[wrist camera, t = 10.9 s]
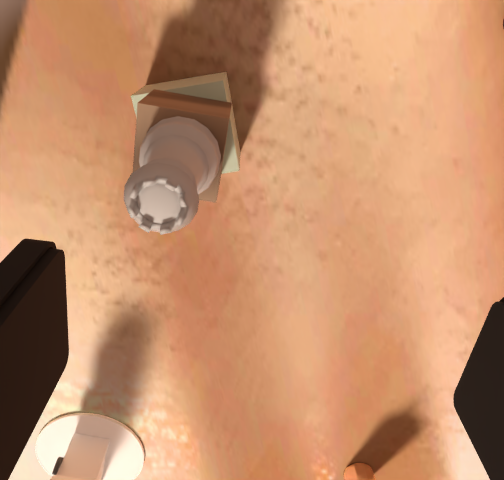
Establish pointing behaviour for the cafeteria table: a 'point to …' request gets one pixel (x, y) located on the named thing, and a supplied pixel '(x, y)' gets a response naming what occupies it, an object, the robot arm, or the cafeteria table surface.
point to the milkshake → (359, 472)
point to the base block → (210, 89)
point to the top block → (186, 106)
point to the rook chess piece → (171, 174)
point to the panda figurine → (89, 448)
